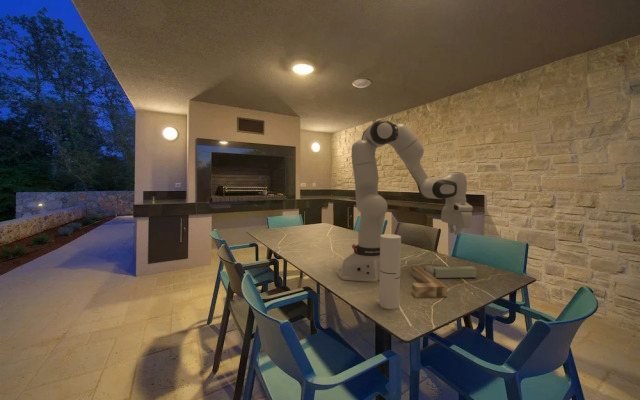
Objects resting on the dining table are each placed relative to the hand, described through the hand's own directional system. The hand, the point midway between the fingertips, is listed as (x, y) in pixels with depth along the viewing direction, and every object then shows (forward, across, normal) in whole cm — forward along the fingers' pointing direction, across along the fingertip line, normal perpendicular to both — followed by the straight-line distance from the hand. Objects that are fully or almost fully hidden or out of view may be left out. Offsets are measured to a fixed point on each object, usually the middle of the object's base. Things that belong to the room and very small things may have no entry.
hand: (454, 233), depth 124 cm
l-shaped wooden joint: (+19, +14, -24) cm, 34 cm away
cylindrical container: (+19, +31, -42) cm, 56 cm away
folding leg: (+19, +6, -5) cm, 21 cm away
